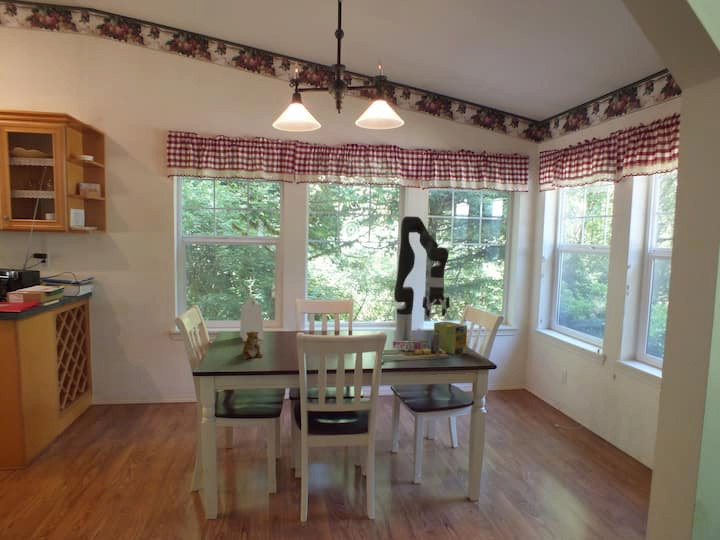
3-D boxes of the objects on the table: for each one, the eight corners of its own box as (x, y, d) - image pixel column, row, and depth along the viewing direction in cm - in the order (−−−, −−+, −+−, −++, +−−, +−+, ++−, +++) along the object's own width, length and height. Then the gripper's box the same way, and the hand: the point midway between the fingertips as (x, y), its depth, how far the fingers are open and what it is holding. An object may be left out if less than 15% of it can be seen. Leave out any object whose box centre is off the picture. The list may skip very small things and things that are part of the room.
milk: (240, 337, 270) (239, 294, 268) (259, 335, 275) (259, 294, 273) (243, 341, 260) (243, 297, 257) (263, 340, 264) (263, 296, 262)
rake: (429, 353, 239) (430, 333, 238) (435, 352, 240) (435, 332, 239) (434, 356, 233) (434, 335, 232) (439, 355, 234) (440, 335, 233)
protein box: (454, 356, 238) (455, 327, 237) (432, 350, 250) (433, 322, 249) (466, 353, 245) (467, 325, 244) (444, 347, 257) (445, 320, 256)
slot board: (396, 354, 238) (396, 349, 238) (438, 352, 244) (438, 347, 244) (404, 361, 226) (404, 356, 226) (448, 359, 231) (448, 354, 231)
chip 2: (420, 354, 237) (421, 348, 236) (427, 354, 238) (428, 348, 237) (423, 356, 233) (423, 350, 233) (430, 356, 234) (430, 350, 234)
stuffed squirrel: (243, 360, 223) (243, 334, 222) (238, 353, 236) (238, 328, 234) (263, 358, 227) (263, 333, 226) (257, 351, 240) (257, 327, 239)
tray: (374, 356, 235) (374, 349, 235) (397, 355, 238) (397, 348, 238) (380, 362, 223) (380, 356, 223) (404, 361, 226) (404, 354, 226)
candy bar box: (428, 340, 245) (407, 342, 234) (428, 349, 244) (407, 351, 234) (413, 339, 253) (392, 341, 243) (413, 348, 253) (392, 350, 243)
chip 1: (412, 354, 236) (412, 349, 235) (419, 354, 237) (419, 348, 236) (414, 356, 232) (415, 351, 231) (422, 356, 233) (422, 350, 232)
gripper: (446, 284, 238) (445, 314, 240) (421, 284, 235) (420, 315, 237) (452, 286, 231) (451, 317, 232) (426, 286, 228) (425, 317, 229)
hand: (435, 316), depth 235 cm, fingers open, 8 cm apart
